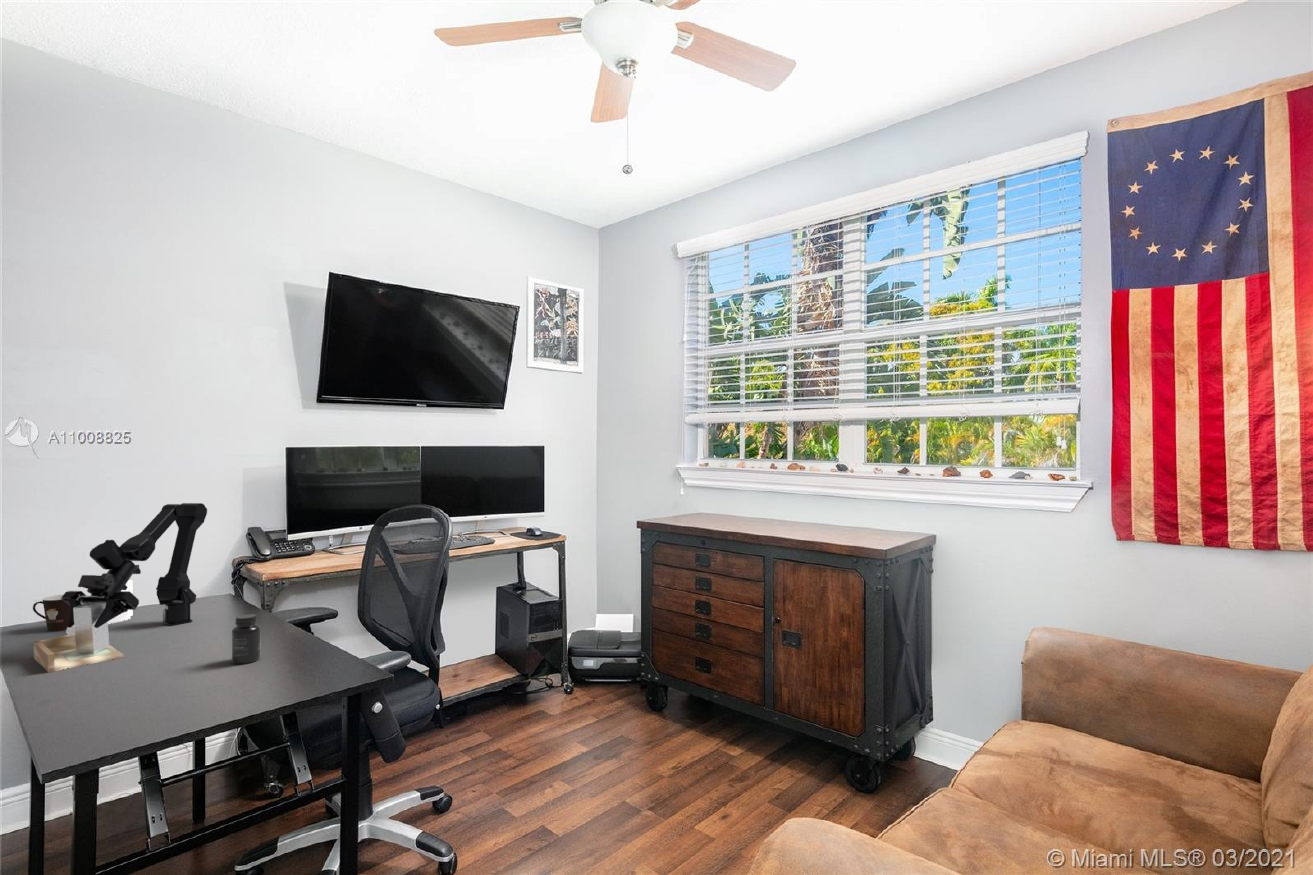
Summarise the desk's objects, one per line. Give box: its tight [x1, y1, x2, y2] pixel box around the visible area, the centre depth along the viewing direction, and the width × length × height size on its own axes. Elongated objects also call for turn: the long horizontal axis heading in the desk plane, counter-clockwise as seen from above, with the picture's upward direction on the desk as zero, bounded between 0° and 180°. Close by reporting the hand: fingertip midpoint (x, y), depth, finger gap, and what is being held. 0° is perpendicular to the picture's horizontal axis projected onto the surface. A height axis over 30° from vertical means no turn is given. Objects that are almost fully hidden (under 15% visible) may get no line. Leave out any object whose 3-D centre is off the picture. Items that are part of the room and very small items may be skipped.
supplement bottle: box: [230, 613, 262, 665], centre depth 182 cm, size 7×7×12 cm
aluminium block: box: [73, 602, 110, 654], centre depth 187 cm, size 5×5×13 cm
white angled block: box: [89, 579, 134, 625], centre depth 224 cm, size 11×11×12 cm
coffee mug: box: [32, 593, 71, 633], centre depth 213 cm, size 12×9×10 cm
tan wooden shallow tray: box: [33, 634, 125, 674], centre depth 184 cm, size 16×19×4 cm
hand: (82, 627), depth 184 cm, fingers closed on aluminium block, 7 cm apart
